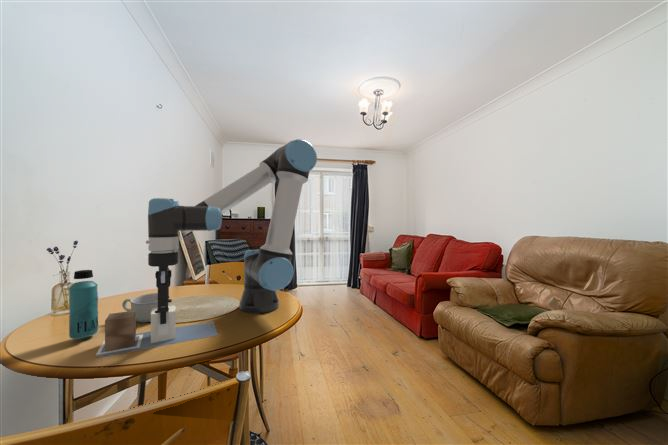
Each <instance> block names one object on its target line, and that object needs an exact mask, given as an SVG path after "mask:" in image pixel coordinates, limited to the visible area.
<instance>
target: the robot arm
mask: <svg viewBox="0 0 668 445" xmlns="http://www.w3.org/2000/svg"><path fill="white" fill-rule="evenodd" d="M317 160H318V156H317V152H316V150H315V148H314V146H313V145H312V143H310V142H309V141H307V140H305V139H301V138H297V139H294V140H293V139H292V140H290V141H289V142H288V143H286V144H284V145H283V146H281V147H278V149H276V150H275V151H274V152H272V153H271V154H270V155H269V156H267V157H266V158H265V159H263V160H262V161H260V162H259V165H258V166H257V167H256V168H254V169H252V170H251V171H249V172H247V173H246V174H244V175H243V176H241V177H240V178H238V179H236V180H235V181H233V182H231V183H230V184H228V185H226V186H225V187H223V188H221V189H220V190H218V191H216V192H215V193H213V194H212V195H211V196H209V197H207V198H205V199H204V200H202V201H201V202H199V203H197V204H196V205H193V206H192V205H191V206H190V205H180V203H179V200H178V199H176V198H165V197H164V198H163V197H156V198H155V197H154V198H151V199H150V200H149V201H148V212H147V229H148V232H147V233H148V240H145V244H147V245H148V246H147V247H148V248H147V249H148V251H149V253H148V254H147V256H148V259H147V260H148V261H147V262H148V263H147V264H148V266H150V267H152V268H153V267H154V268H155V267H158V270H156V271H155V274H154V275H155V279H156V281H155V285H156V288H157V293H158V309H157V311H155V313H158V336H160V335H165V334H169V308H168V306H170V303H172V301H173V300H172V299H173V298H172V299H171V298H170V287H171V283H172V282H171V279H172V269H170V268H169V266H175V265H178V264H179V252H178V250H179V245H180V244H179V243H180V242H179V239H180V238H179V231H182V232H184V231H195V232H196V231H203V232H204V231H205V232H206V231H208V232H210V231H218V230H220V229H221V227H222V223H223V217H222V216H223V214H225V213H227V211H230V210H231V209H233V208H234V207H236V206H237V205H238V204H240V203H242V202H243V201H245V200H246V199H247V198H249V197H251V196H252V195H254V194H255V193H257V192H259V191H260V190H261V189H263V188H264V187H266V186H268V185H269V184H276V183H277V182H278V184H277V189H276V194H275V198H274V202H273V207H272V211H271V217H270V222H269V226H268V230H267V235H266V240H265V243H264V244H263V245H262V246H260V247H259V249H249V250H246V251H245V252H244V255H243V256H244V257H243V261H244V262H243V264H244V266H243V272H244V273H243V277H244V278H243V283H244V284H243V285H244V286H243V291H242V295H241V298H240V301H239V305H238V306H239V310H240V311H242V312H244V313H248V314H249V313H250V314H265V313H268V312H272V311H276V310H277V309H278V308H279V307H280V299H279V296H278V294H277V293H278V292H277V291H279V290H280V291H281V290H282V289H283V290H284V288H286V287H287V286H288V285H289V284H290V283H291V281H292V280H293V278H294V272H295V271H294V267H293V264H292V257H293V252H292V250H291V249H290V246H291V241H292V237H293V232H294V226H295V221H296V218H297V217H296V216H297V213H298V210H299V209H298V208H299V203H300V198H301V193H302V188H303V185H304V184H306V183H307V182H308V180H309V175H310V172H311V170H313V168H315V166H316V165H317ZM160 307H161V308H160Z"/></svg>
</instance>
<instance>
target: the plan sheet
mask: <svg viewBox="0 0 668 445" xmlns="http://www.w3.org/2000/svg"><path fill="white" fill-rule="evenodd" d="M216 336H219V334H218V332H217V329H216V327H215V323H214V321H208V322H201V323H195V324H190V325H183V326H182V325H181V326H176V339H170V340H165V341H159V342H154V343H151V331H146V332H139V333H136V339H135V342H134V345H133V346H131V347H126V348H120V349H115V350H109V351H105V340H103V341H102V343H101V345H100V347H99V348H98V349H97V352H96V354H95V356H97V357H96V358H98V359H99V358H102V357H108V356H109V357H110V356H113V355H114V356H115V355H118V354H119V355H121V354H124V353H130V352H131V353H132V352H136V351H141V350H145V349H146V350H147V349H152V348H157V347H162V346H168V345H174V344H179V343H185V342H188V341H194V340H200V339H205V338H210V337H211V338H212V337H216Z"/></svg>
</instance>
